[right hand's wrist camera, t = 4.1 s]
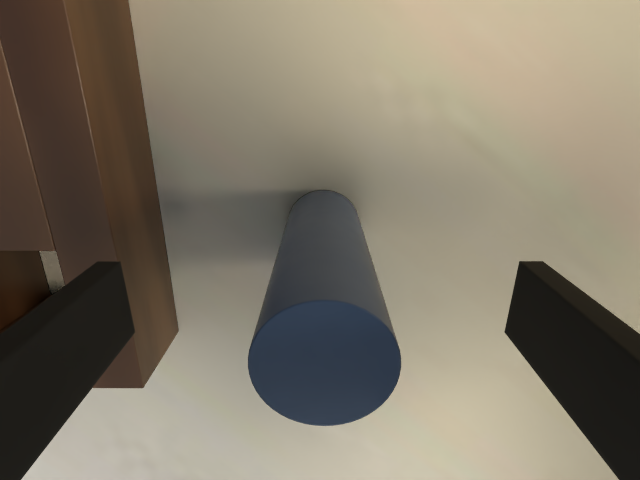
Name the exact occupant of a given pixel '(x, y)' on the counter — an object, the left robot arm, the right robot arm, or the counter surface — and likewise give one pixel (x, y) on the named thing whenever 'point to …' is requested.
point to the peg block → (80, 168)
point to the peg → (324, 320)
